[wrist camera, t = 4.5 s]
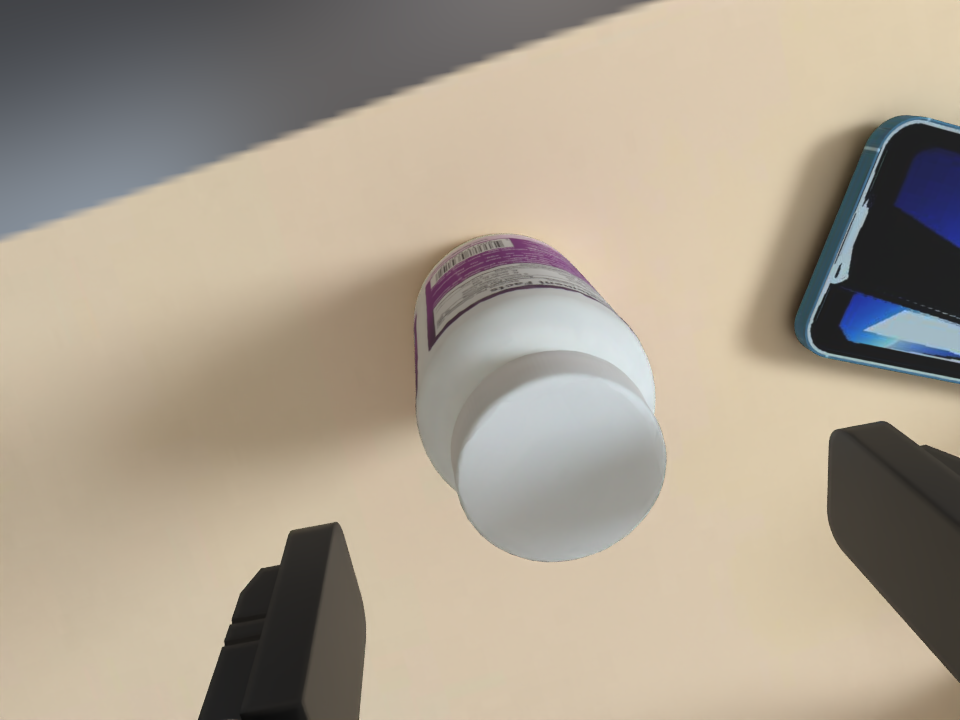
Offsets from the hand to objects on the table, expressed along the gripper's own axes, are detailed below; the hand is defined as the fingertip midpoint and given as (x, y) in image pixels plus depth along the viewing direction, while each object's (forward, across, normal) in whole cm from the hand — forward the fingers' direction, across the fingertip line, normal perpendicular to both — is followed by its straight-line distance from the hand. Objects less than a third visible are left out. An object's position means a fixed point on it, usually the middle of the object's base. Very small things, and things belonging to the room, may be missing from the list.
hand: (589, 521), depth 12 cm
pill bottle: (+12, 0, 0) cm, 12 cm away
